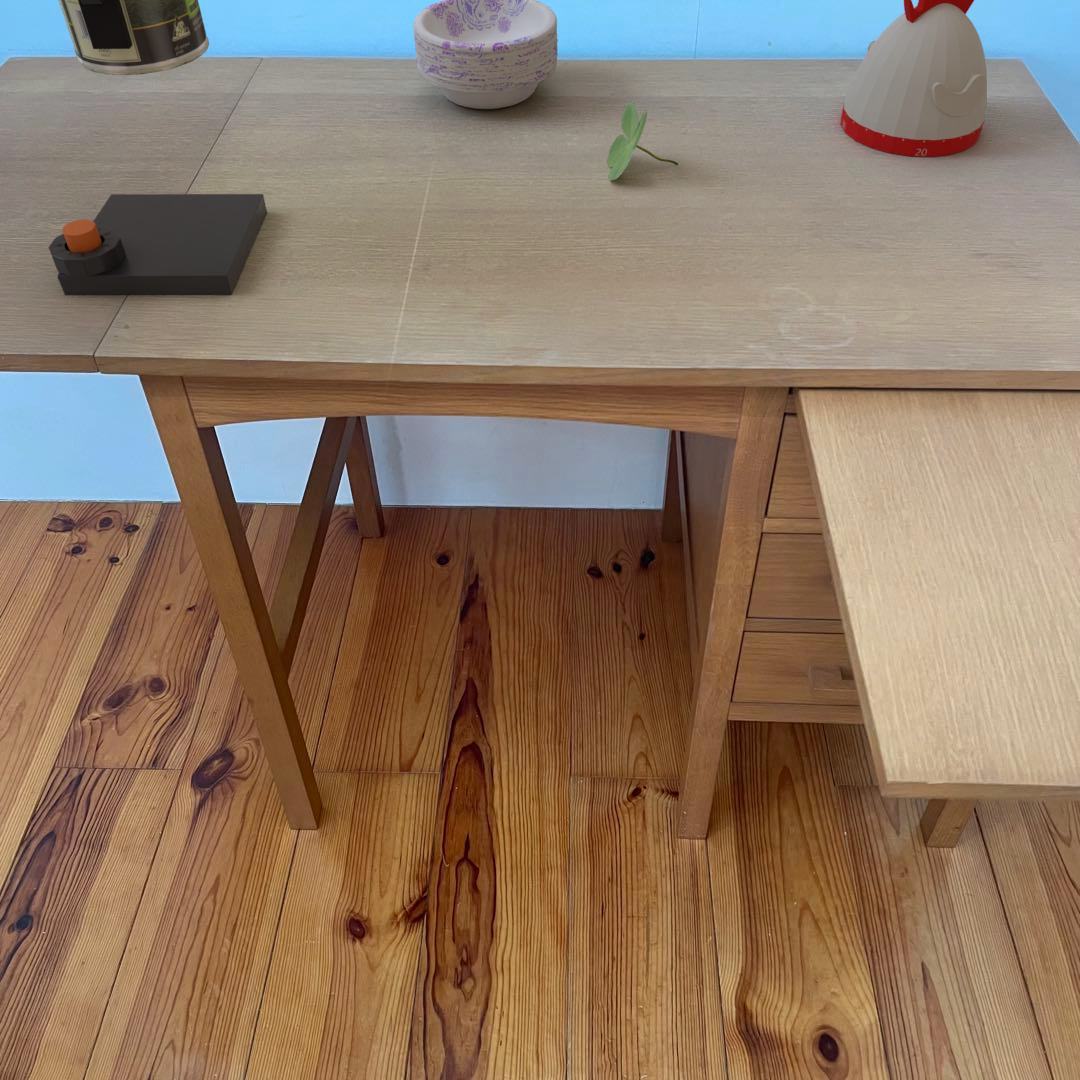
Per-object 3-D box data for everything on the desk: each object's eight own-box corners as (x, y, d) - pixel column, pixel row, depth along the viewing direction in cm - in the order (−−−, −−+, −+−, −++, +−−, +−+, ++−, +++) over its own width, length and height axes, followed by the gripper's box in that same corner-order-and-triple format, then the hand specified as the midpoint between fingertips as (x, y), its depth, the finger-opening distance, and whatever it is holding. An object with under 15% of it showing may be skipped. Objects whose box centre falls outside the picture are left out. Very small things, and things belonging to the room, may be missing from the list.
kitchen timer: (1007, 143, 101) (1061, -21, 90) (888, 166, 98) (929, -1, 87) (926, 91, 110) (966, -64, 99) (815, 110, 107) (844, -47, 96)
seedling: (645, 216, 101) (592, 189, 98) (663, 143, 102) (611, 114, 99) (688, 197, 95) (632, 167, 92) (707, 119, 96) (652, 87, 93)
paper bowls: (457, 134, 104) (451, 53, 98) (398, 83, 113) (389, 8, 108) (583, 102, 109) (584, 24, 103) (516, 57, 118) (514, -17, 113)
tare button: (64, 254, 82) (57, 235, 81) (75, 238, 84) (68, 219, 82) (96, 254, 82) (89, 234, 81) (106, 238, 84) (99, 218, 82)
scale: (54, 297, 83) (39, 259, 81) (109, 213, 93) (97, 177, 91) (231, 297, 83) (221, 259, 80) (267, 213, 93) (259, 176, 90)
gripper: (18, -344, 54) (140, 78, 70) (139, -377, 70) (216, -27, 86) (-119, -342, 54) (33, 79, 70) (33, -376, 70) (129, -26, 86)
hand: (134, 21), depth 78 cm, fingers closed on coffee can, 10 cm apart
